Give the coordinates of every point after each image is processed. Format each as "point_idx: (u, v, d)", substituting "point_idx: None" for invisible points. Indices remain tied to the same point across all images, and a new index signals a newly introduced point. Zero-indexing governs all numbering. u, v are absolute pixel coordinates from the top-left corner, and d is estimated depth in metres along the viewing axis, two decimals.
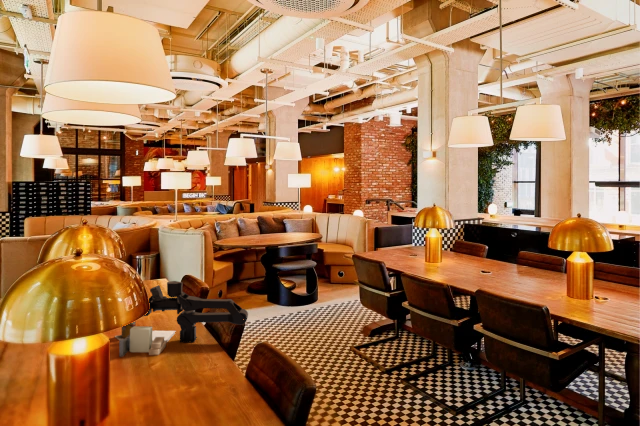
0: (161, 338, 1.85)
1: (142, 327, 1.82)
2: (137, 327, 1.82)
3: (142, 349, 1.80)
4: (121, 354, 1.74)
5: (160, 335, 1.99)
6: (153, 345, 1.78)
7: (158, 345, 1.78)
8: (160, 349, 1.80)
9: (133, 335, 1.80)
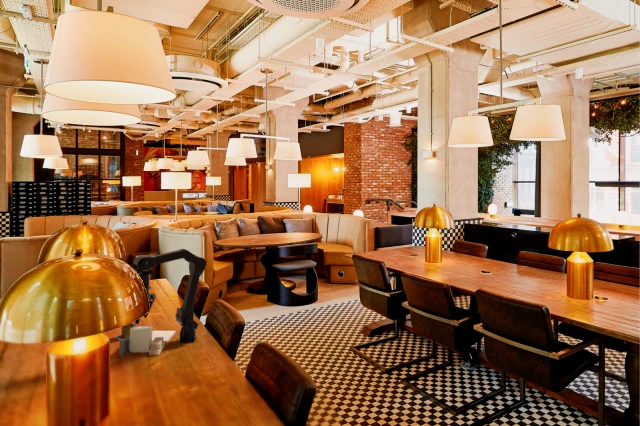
0: (161, 338, 1.85)
1: (142, 327, 1.82)
2: (137, 327, 1.82)
3: (142, 349, 1.80)
4: (121, 354, 1.74)
5: (160, 335, 1.99)
6: (153, 345, 1.78)
7: (158, 345, 1.78)
8: (160, 349, 1.80)
9: (133, 335, 1.80)
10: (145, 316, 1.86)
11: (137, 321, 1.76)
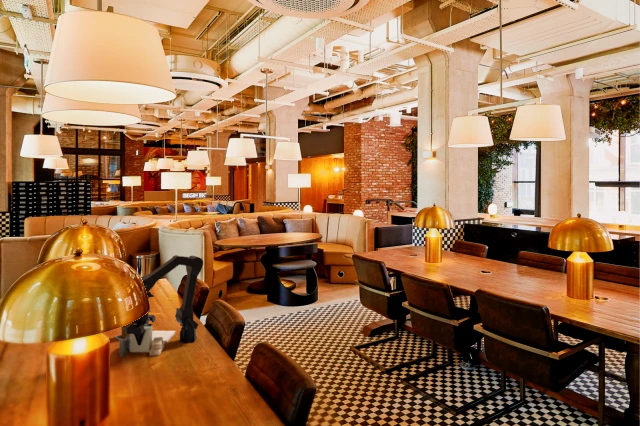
0: (160, 338, 1.85)
1: None
2: None
3: (142, 349, 1.80)
4: (121, 354, 1.74)
5: (160, 335, 1.99)
6: (154, 345, 1.78)
7: (159, 345, 1.78)
8: (160, 349, 1.80)
9: (133, 335, 1.80)
10: None
11: (139, 342, 1.79)
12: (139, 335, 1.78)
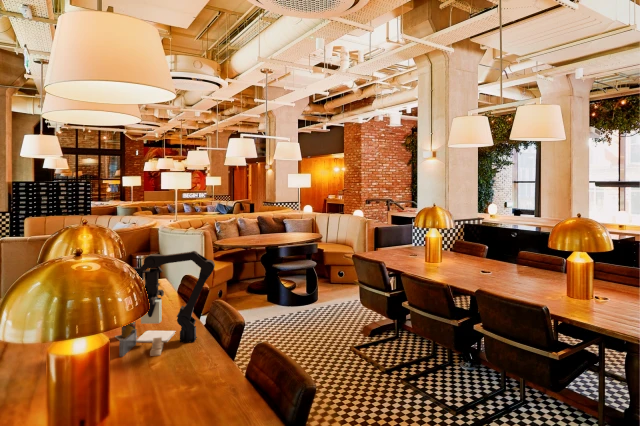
0: (159, 338, 1.84)
1: None
2: None
3: (153, 321, 1.90)
4: (121, 354, 1.74)
5: (160, 335, 1.99)
6: (154, 346, 1.77)
7: (159, 345, 1.78)
8: (161, 349, 1.80)
9: None
10: None
11: (150, 314, 1.89)
12: (150, 307, 1.89)
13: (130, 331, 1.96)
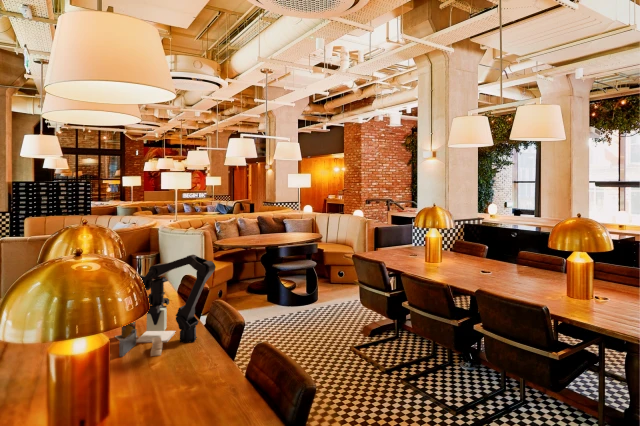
0: (159, 339, 1.84)
1: None
2: None
3: (158, 328, 1.97)
4: (121, 354, 1.74)
5: (160, 335, 1.99)
6: (155, 346, 1.77)
7: (160, 345, 1.78)
8: (161, 349, 1.80)
9: (149, 315, 1.96)
10: None
11: (155, 322, 1.96)
12: (155, 315, 1.95)
13: (130, 331, 1.96)
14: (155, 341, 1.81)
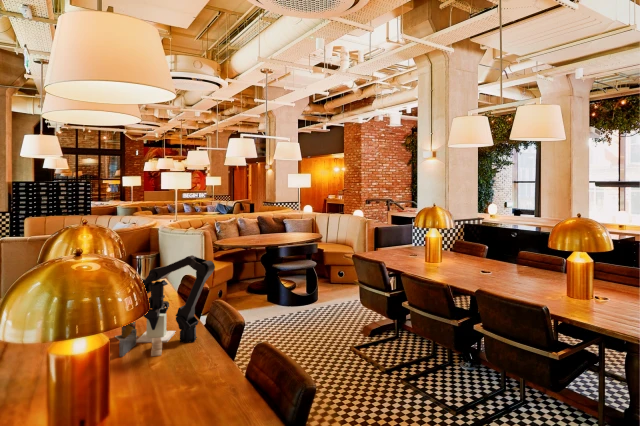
0: (159, 339, 1.84)
1: None
2: None
3: (158, 334, 1.97)
4: (121, 354, 1.74)
5: None
6: (155, 346, 1.77)
7: (160, 345, 1.78)
8: (161, 349, 1.79)
9: None
10: None
11: (153, 327, 1.94)
12: (153, 320, 1.93)
13: (130, 331, 1.96)
14: (155, 341, 1.81)
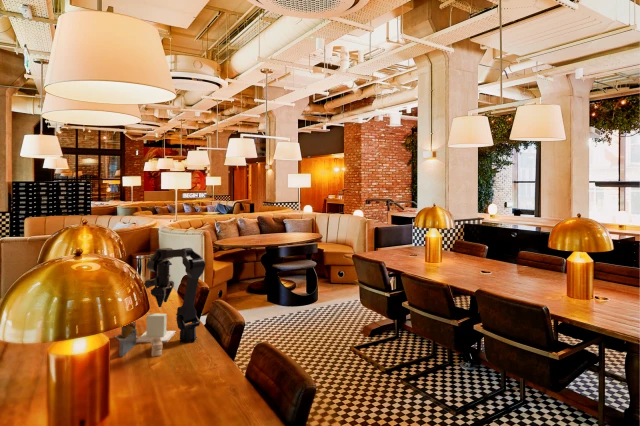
0: (158, 339, 1.84)
1: (157, 314, 1.99)
2: (153, 314, 1.99)
3: (158, 334, 1.97)
4: (121, 354, 1.74)
5: None
6: (155, 346, 1.77)
7: (160, 346, 1.78)
8: (161, 349, 1.79)
9: (149, 321, 1.96)
10: (165, 301, 2.12)
11: (160, 304, 2.03)
12: (160, 298, 2.02)
13: (130, 331, 1.96)
14: (155, 341, 1.81)
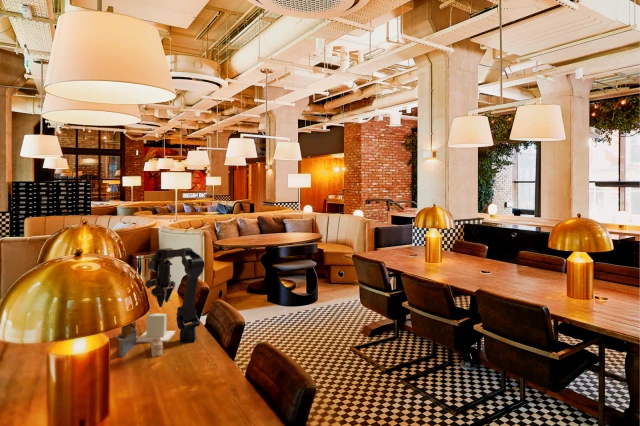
0: (158, 339, 1.84)
1: (157, 314, 1.99)
2: (153, 314, 1.99)
3: (158, 334, 1.97)
4: (121, 354, 1.74)
5: None
6: (156, 346, 1.77)
7: (161, 346, 1.78)
8: None
9: (149, 321, 1.96)
10: (166, 301, 2.13)
11: (160, 304, 2.03)
12: (160, 298, 2.02)
13: (130, 331, 1.96)
14: (155, 342, 1.80)
